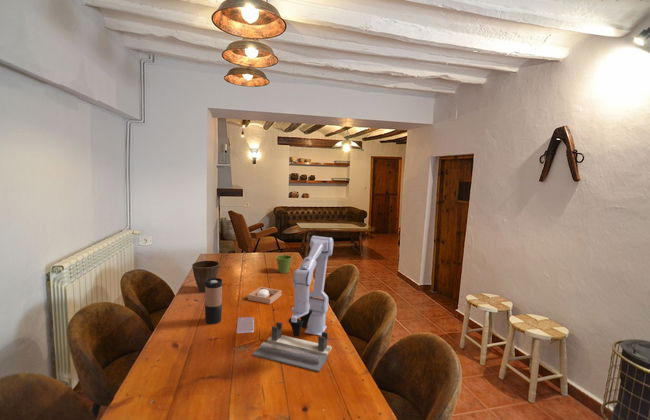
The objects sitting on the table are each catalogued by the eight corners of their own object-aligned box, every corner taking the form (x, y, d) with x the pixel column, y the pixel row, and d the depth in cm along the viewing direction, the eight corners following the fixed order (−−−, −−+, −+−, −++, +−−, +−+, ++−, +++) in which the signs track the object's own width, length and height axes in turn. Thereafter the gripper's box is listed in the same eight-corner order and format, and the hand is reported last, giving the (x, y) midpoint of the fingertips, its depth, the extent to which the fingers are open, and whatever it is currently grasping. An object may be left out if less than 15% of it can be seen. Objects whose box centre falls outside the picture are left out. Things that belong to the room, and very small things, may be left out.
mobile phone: (236, 332, 144) (237, 317, 158) (236, 334, 144) (237, 319, 158) (254, 331, 146) (253, 316, 160) (253, 333, 146) (253, 318, 160)
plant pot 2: (283, 268, 243) (283, 253, 242) (295, 272, 236) (295, 257, 235) (271, 272, 233) (272, 256, 232) (283, 275, 226) (284, 260, 225)
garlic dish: (260, 291, 195) (260, 286, 194) (281, 295, 190) (281, 290, 190) (247, 299, 181) (247, 294, 181) (270, 304, 177) (270, 298, 177)
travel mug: (217, 316, 160) (217, 276, 157) (224, 321, 154) (225, 281, 152) (202, 320, 154) (202, 279, 152) (209, 326, 149) (209, 284, 147)
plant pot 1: (197, 296, 182) (197, 269, 180) (188, 288, 193) (188, 262, 191) (222, 291, 192) (223, 265, 190) (212, 284, 203) (213, 259, 201)
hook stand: (273, 335, 143) (274, 320, 143) (331, 348, 135) (332, 333, 134) (266, 342, 138) (267, 326, 137) (327, 356, 129) (328, 339, 129)
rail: (263, 347, 133) (263, 342, 132) (320, 361, 125) (321, 355, 125) (260, 349, 131) (260, 344, 130) (318, 364, 123) (319, 358, 123)
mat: (264, 343, 137) (264, 341, 137) (327, 357, 128) (327, 356, 128) (252, 355, 127) (252, 353, 127) (319, 372, 119) (319, 370, 119)
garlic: (260, 293, 193) (260, 286, 193) (271, 294, 192) (271, 288, 191) (255, 298, 185) (255, 291, 185) (266, 299, 184) (266, 293, 184)
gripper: (299, 291, 136) (298, 322, 137) (284, 304, 122) (283, 338, 124) (315, 294, 133) (313, 325, 135) (301, 307, 120) (300, 342, 121)
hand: (300, 331), depth 129 cm, fingers open, 7 cm apart
